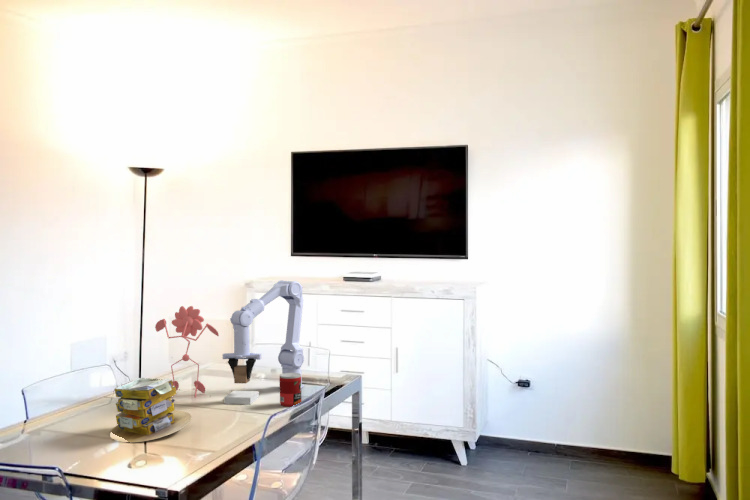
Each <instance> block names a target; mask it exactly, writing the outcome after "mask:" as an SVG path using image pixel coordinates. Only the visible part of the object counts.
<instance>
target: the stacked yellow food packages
mask: <svg viewBox="0 0 750 500" xmlns="http://www.w3.org/2000/svg"><path fill="white" fill-rule="evenodd" d="M172 382H173V379H171V378H146V377H137V378H136V379H134V380H131V381H128V382H126V383H124V384H123V383H121V384H120V385H118V386H116V387H114V393H115V397H116V398H118V399H117V400H118V401H117V402H116V403H115V404H116V410H117V412H119V413H117V414H115V419H116V420H115V421H116V425H115V426H114V427H113V428H112V429H111V430H110V432H112V433H113V434H115V435H117V436H119V437H122V438H124V439H125V440H127V441H128V442H130V444H131V443H140V442H141V443H142V442H148V441H152V440H156V439H161V438H163V437H166V436H168V435H169V436H170V435H171V434H174V433H176V432H178V431H180V430H182V429H183V428H185V427H186V426H187V425H188V424H190V423H191V420H192V415H191V413H190V412H187V411H185V410H179V409H175V404H174V402H175V401H176V400H175V399H174V398H173V399H172V396H173V397H174V396H175V395H177V391H176V387H175V386H173V383H172ZM110 432H109V433H110Z"/></svg>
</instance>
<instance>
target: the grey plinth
mask: <svg viewBox="0 0 750 500" xmlns="http://www.w3.org/2000/svg"><path fill="white" fill-rule="evenodd" d="M259 394H260V392H259V391H257V390H233V391H232V392H229V393H227V395H226V396H224V397H223V401H224V403H223V404H224V405H251V404H253V403H254V402H255V401H257V400H258V399H259V398H260V395H259Z"/></svg>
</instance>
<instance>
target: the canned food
mask: <svg viewBox="0 0 750 500" xmlns="http://www.w3.org/2000/svg"><path fill="white" fill-rule="evenodd" d="M300 402H301V403H302V388H301V374H299V373H283V374H282V373H281V374H279V403H280V406H281V407H285V408H286V407H287V408H292V407H291V406H293V405H296V404H298V403H300Z"/></svg>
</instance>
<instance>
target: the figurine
mask: <svg viewBox="0 0 750 500" xmlns="http://www.w3.org/2000/svg"><path fill="white" fill-rule="evenodd" d="M200 313H201V309H199V308H194V306H193V305H190V306H187V308H185V306H183V305H182V306H179V310H178V311H176V312H174V317H175V319H173V320H171V324H172V325H173V326H174V327H175V333H179V334H181V335H176V336H169V331H168V327H167V320H166V318H163V319H159V321H157V322H156V324H155V326H154V328H155V331H156V332H157V333H158V332H160V331H162V330H164V328H165V333H166V335H167V338H168V339H175V338H177V339H178V338H182V339H184V340H186V341H187V342H188V343H187V347H186V351H185V354H183V355H182V358H181V359H179V360H178V361H176V362H175V363H173V364H171V366H170V367H171V374H172V383H173V386H175V387H176V392H177V391H178V390H179V387H180V383H179V382H178V381H177V380H175V375H174V371H173V366H174V365H177V364H178V363H180V362H181V361H184V362H188V361H191V362H192V363H194V364H196V365H197V376H196V377H197V378H196V379H197V380H194V381H193V386H194V387H195V389H194V390H195V391H194V398H196V397H197V391H198V392H201V393H202V394H205V392H206V390H205V389H206V386H205V385H204V384H203V383H202V382H201V381H199V372H200V364H199V363H197V362H196V361H194V360H193V359H192V358H190V355H188V351H189V347H190V343H191V342H190V341H191V340H192V341H195V342H197V341H198V339H199V338H200V336H201V335H202V334H203V332H204V331H205V330H206V328H207V329H208V330H209V331H210V332H211V333H212V334H214V335H215V336H217V337H219V336H220V335H219V331H218V330H217V329H216V328H215V327H214V326H212V325H211V324H209V323H208V322H207V323H205V326H204V327H203V325H202V323H203V322H204V321H205V319H204V317H203V316H202V315H200ZM198 331H200V332H199V334H198V336H197V333H198ZM189 335H190V336H192V337H196V336H197V337H196V338H192V337H189ZM210 397H212V395H210V396H209V398H210Z"/></svg>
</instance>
